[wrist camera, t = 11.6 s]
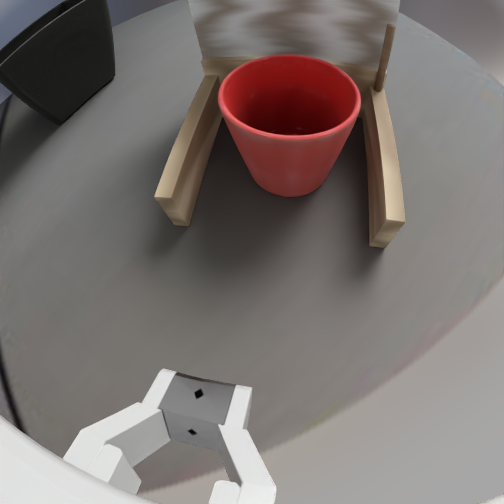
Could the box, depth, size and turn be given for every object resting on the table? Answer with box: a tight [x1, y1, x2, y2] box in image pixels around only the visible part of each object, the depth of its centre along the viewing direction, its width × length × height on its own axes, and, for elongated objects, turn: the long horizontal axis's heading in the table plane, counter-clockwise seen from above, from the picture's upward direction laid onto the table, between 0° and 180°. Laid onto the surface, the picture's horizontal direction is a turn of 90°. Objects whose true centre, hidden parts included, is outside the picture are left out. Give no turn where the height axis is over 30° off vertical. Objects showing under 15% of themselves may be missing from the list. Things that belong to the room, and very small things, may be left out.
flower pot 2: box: [218, 54, 361, 197], centre depth 23 cm, size 11×11×10 cm
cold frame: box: [154, 0, 405, 248], centre depth 20 cm, size 19×18×18 cm
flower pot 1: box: [0, 0, 115, 124], centre depth 32 cm, size 19×19×17 cm
